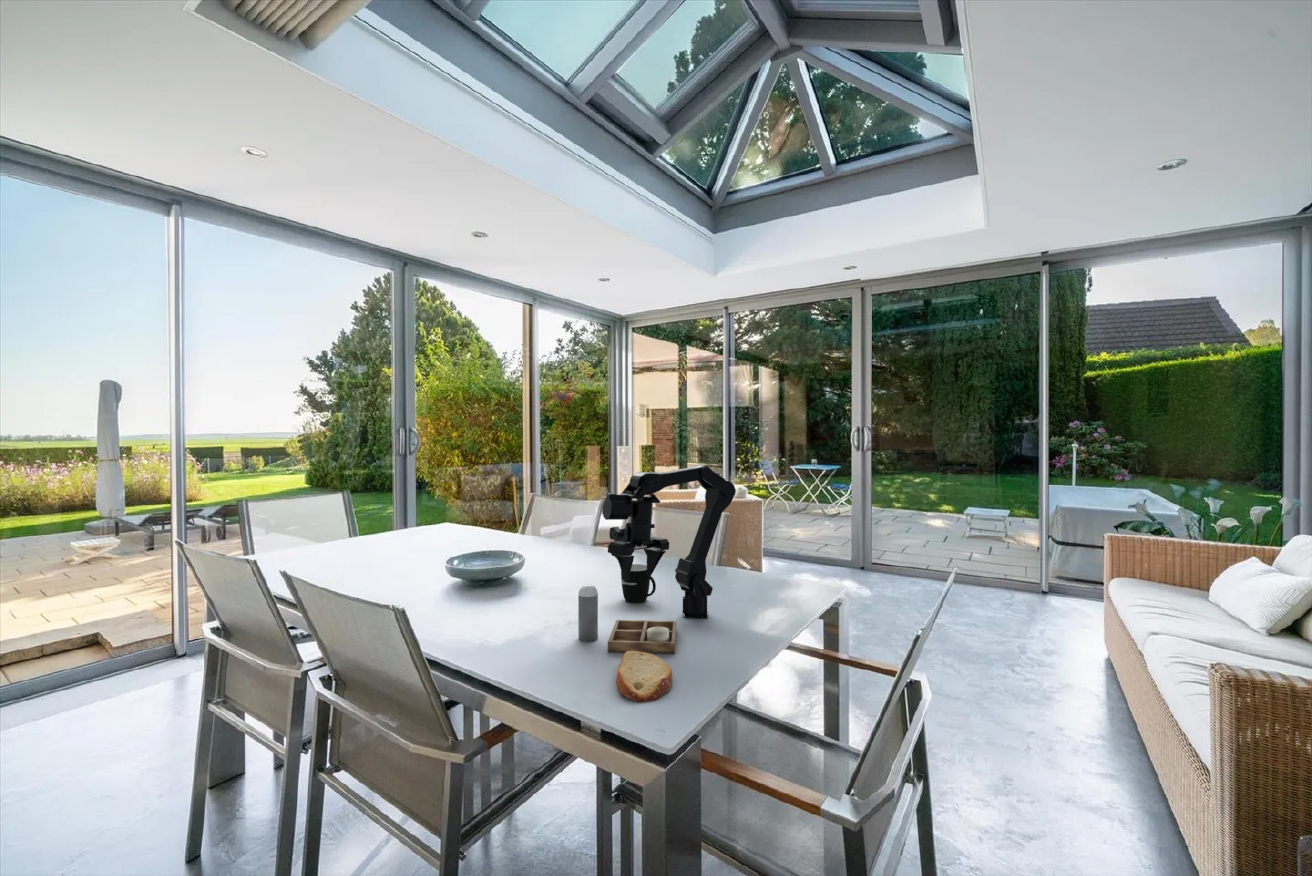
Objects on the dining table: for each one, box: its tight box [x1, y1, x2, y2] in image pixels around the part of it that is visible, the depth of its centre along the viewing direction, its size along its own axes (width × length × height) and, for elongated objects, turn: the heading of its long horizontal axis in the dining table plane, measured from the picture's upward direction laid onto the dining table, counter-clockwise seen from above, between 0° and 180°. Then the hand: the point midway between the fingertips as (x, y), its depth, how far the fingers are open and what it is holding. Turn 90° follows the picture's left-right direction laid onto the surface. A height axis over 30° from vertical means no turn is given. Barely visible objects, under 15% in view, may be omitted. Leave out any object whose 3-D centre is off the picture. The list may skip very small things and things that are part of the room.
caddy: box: [607, 619, 677, 655], centre depth 139 cm, size 16×16×4 cm
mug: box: [620, 563, 657, 604], centre depth 173 cm, size 12×9×10 cm
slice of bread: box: [615, 651, 673, 704], centre depth 118 cm, size 18×18×4 cm
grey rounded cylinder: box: [577, 583, 599, 643], centre depth 141 cm, size 5×5×13 cm
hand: (637, 578), depth 151 cm, fingers open, 9 cm apart
